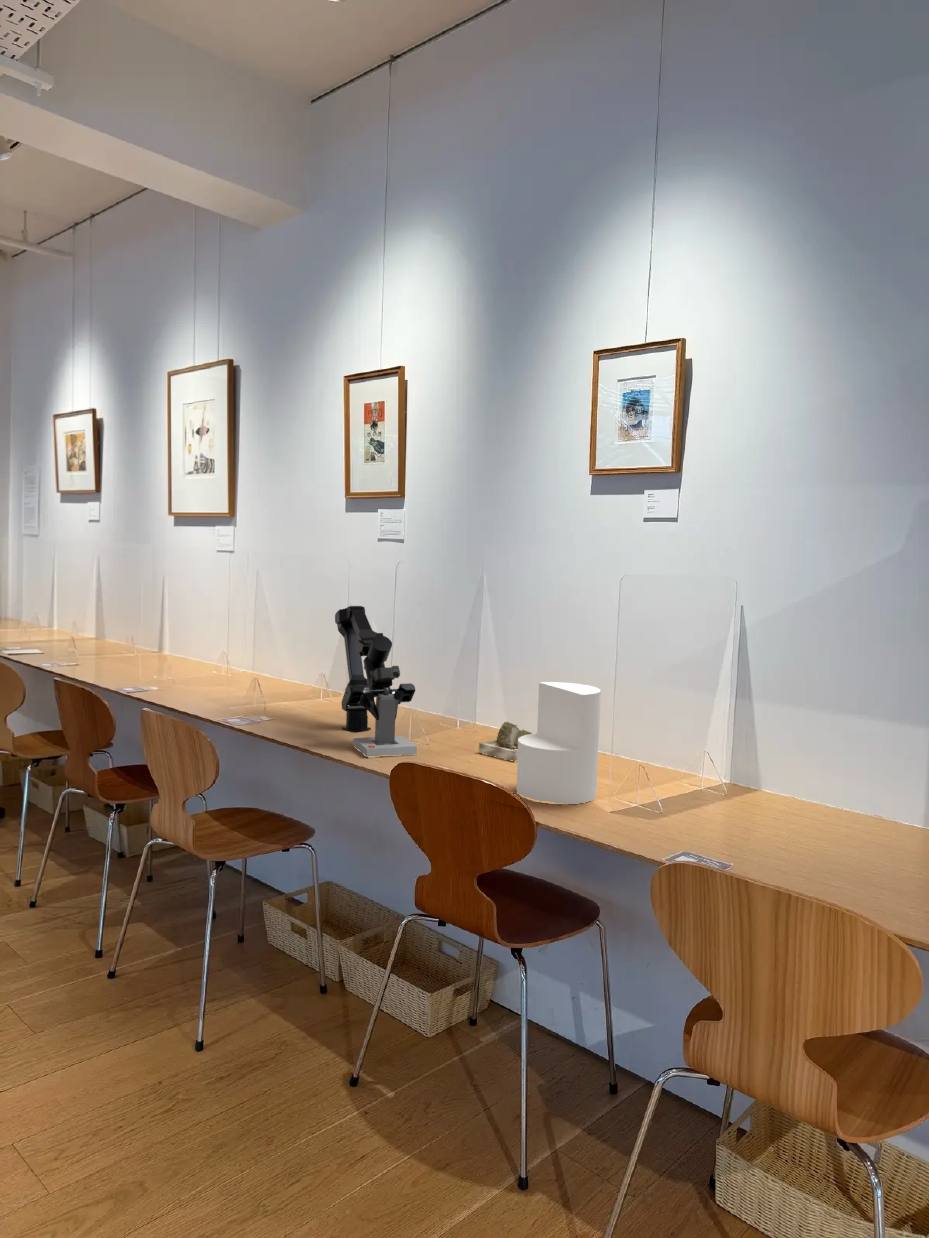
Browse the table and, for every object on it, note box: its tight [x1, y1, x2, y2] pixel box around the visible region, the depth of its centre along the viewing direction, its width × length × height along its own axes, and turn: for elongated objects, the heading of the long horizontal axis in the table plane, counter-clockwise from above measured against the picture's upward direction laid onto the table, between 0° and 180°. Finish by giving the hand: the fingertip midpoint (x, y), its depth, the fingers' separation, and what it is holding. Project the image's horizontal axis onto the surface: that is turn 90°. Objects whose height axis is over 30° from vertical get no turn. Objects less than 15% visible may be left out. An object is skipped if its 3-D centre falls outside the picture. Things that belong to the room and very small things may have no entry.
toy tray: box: [478, 739, 518, 761], centre depth 254 cm, size 13×21×3 cm, turn 136°
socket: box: [352, 735, 418, 756], centre depth 251 cm, size 14×14×3 cm
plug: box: [374, 687, 396, 743], centre depth 250 cm, size 4×4×15 cm
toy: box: [496, 721, 534, 749], centre depth 254 cm, size 7×7×15 cm
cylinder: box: [516, 681, 602, 805], centre depth 212 cm, size 19×19×25 cm
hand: (386, 718), depth 249 cm, fingers closed on plug, 5 cm apart
